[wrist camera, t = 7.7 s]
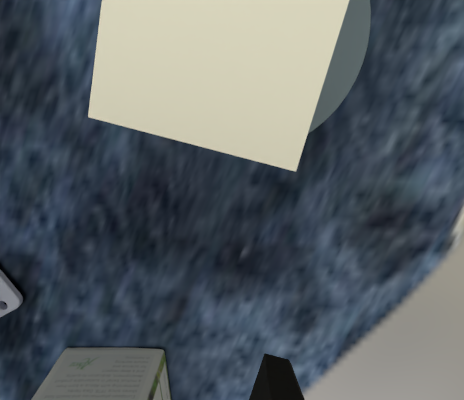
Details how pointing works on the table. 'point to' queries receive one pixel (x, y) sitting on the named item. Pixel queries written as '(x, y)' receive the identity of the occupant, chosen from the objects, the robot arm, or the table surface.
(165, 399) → the syrup box
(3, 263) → the table surface
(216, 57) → the cream block
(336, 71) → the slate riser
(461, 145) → the table surface
